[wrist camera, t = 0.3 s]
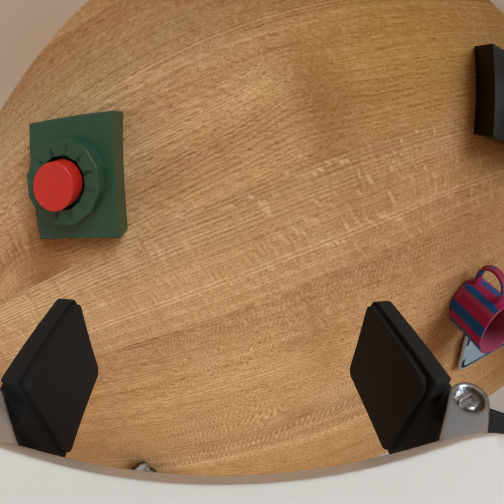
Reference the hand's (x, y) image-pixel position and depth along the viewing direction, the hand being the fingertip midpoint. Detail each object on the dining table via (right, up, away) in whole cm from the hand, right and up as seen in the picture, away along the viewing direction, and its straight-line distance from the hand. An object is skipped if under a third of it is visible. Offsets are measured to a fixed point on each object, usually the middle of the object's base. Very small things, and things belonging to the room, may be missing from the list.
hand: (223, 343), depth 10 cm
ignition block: (-14, +9, +14) cm, 22 cm away
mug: (+28, -2, +23) cm, 36 cm away
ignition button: (-13, +8, +11) cm, 19 cm away
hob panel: (+31, +19, +14) cm, 39 cm away
